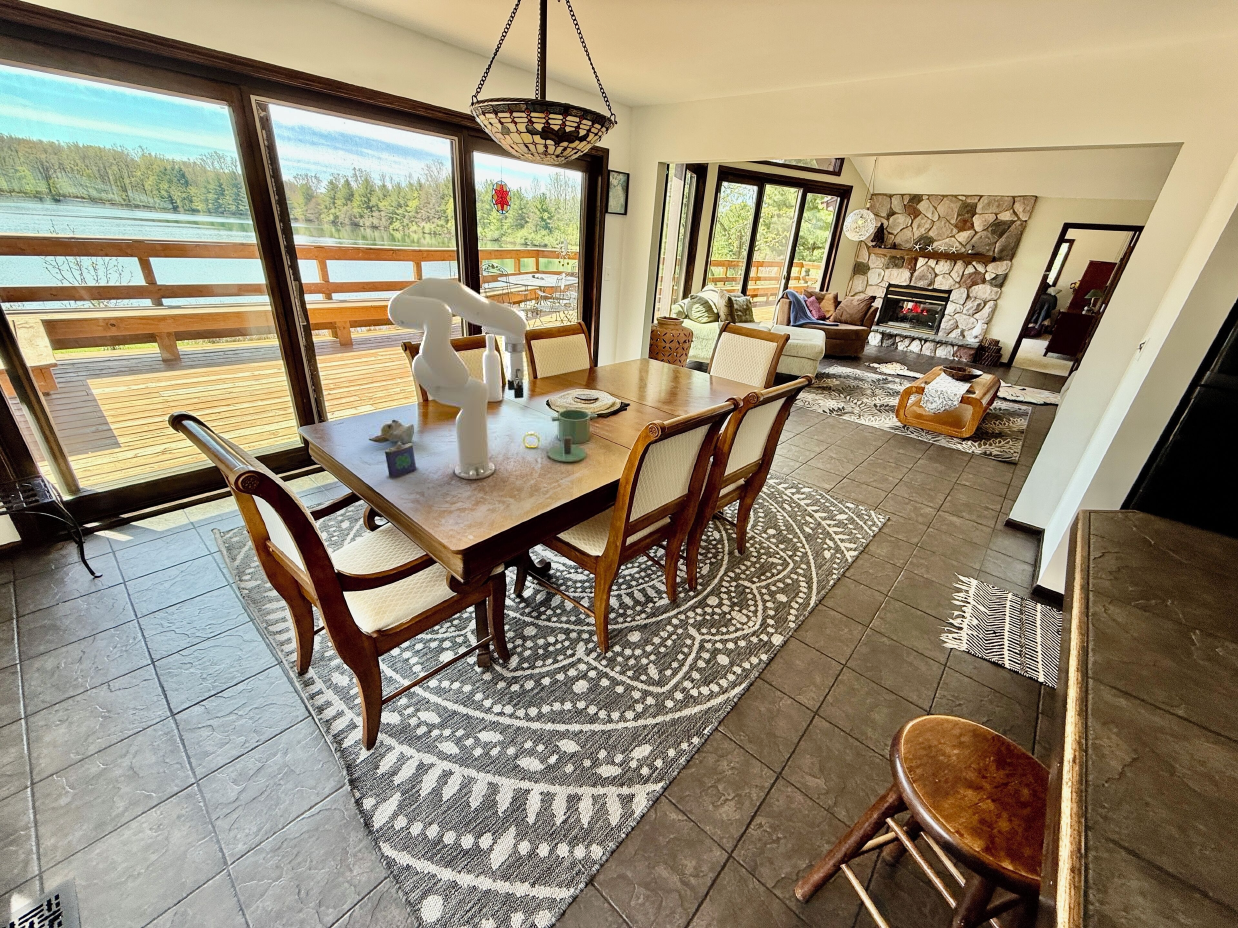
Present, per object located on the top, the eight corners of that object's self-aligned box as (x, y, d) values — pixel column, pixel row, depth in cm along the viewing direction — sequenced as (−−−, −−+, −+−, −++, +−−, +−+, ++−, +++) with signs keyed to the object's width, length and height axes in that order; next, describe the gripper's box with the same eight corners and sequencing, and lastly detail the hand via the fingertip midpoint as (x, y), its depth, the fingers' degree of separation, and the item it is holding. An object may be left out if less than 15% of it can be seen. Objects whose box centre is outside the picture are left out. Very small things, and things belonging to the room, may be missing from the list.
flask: (413, 466, 159) (409, 437, 154) (418, 469, 158) (414, 439, 153) (387, 476, 152) (382, 445, 148) (392, 479, 151) (387, 448, 146)
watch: (540, 446, 181) (540, 431, 178) (539, 449, 178) (538, 434, 176) (524, 445, 181) (523, 430, 178) (522, 448, 178) (522, 433, 175)
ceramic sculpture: (406, 425, 168) (363, 425, 168) (410, 448, 172) (369, 447, 172) (418, 415, 178) (378, 415, 178) (422, 437, 181) (383, 436, 182)
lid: (590, 461, 172) (591, 443, 168) (553, 465, 167) (553, 446, 164) (579, 446, 183) (580, 429, 180) (544, 449, 178) (544, 431, 175)
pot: (600, 441, 188) (601, 418, 184) (555, 445, 182) (555, 422, 178) (590, 429, 199) (591, 408, 195) (547, 433, 193) (547, 410, 189)
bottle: (505, 399, 228) (503, 335, 215) (493, 403, 222) (490, 337, 209) (493, 395, 231) (490, 332, 218) (481, 399, 225) (477, 334, 212)
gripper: (497, 341, 173) (500, 387, 180) (509, 352, 159) (510, 402, 166) (518, 341, 176) (519, 386, 183) (531, 352, 162) (532, 400, 169)
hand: (515, 393), depth 175 cm, fingers open, 9 cm apart
